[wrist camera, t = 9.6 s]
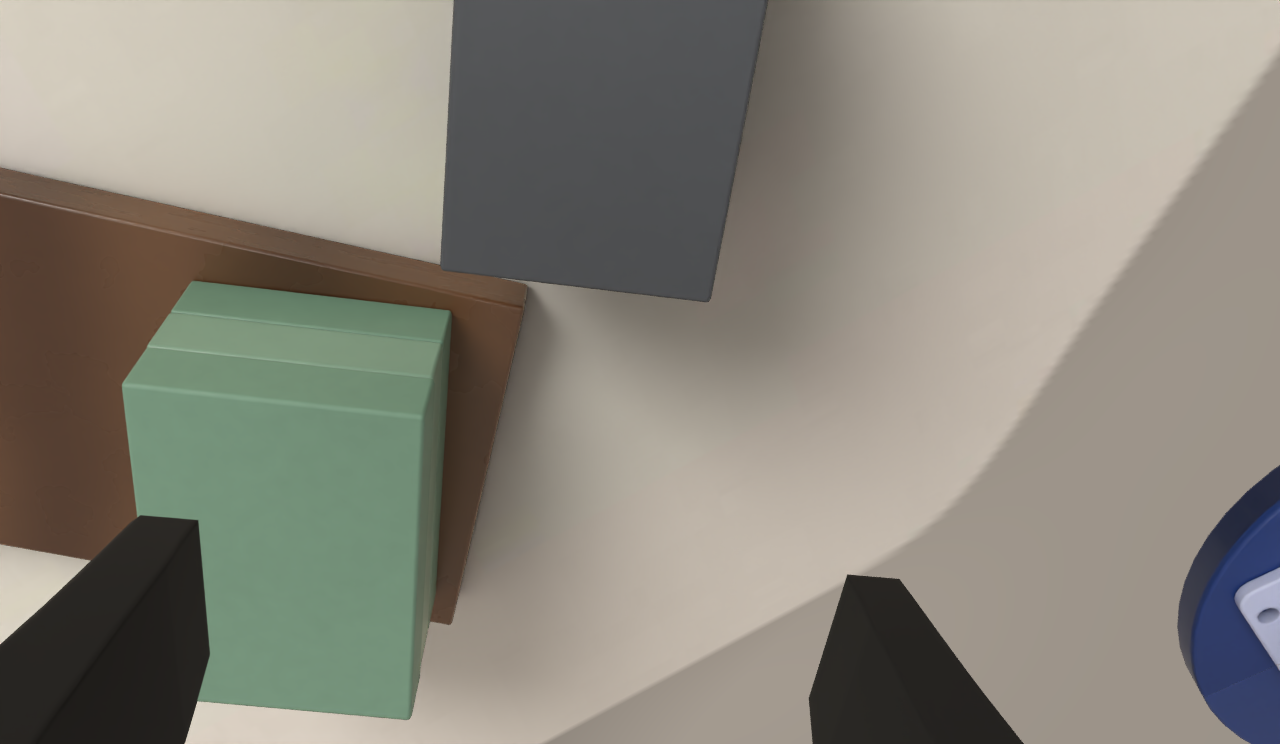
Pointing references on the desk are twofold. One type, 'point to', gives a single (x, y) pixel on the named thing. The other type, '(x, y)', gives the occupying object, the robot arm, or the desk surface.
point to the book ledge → (134, 311)
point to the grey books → (596, 140)
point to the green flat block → (325, 353)
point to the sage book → (294, 521)
